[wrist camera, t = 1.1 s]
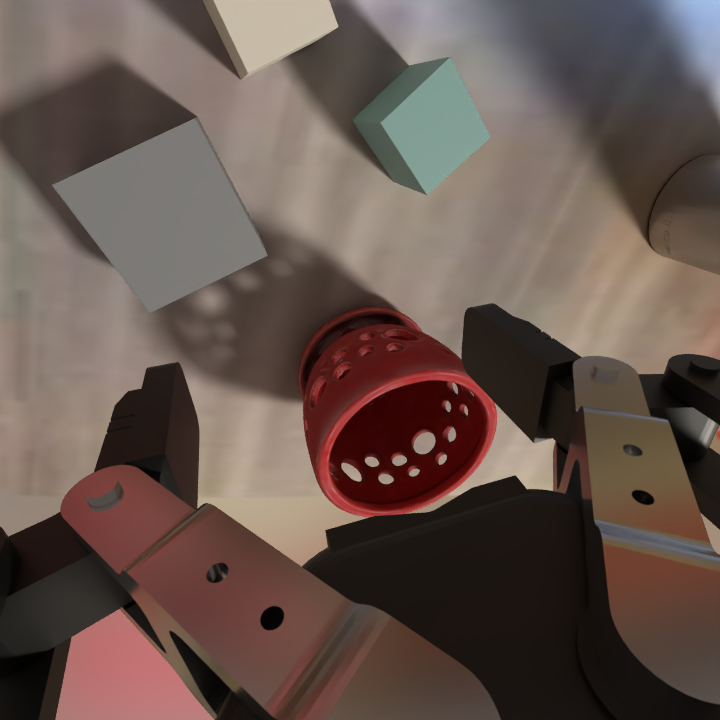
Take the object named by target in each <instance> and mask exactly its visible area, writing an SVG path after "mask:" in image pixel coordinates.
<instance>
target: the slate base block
mask: <svg viewBox="0 0 720 720" xmlns="http://www.w3.org/2000/svg"><path fill="white" fill-rule="evenodd" d="M52 186H53V187H54V189H55V190H56V191H57V193H58V194H59V195H60V197H61V198H62V199H63V200H64V202H65V203H66V204H67V206H68V207H69V208H70V210H71V211H72V212H73V214H74V215H75V216H76V217H77V219H78V220H79V221H80V223H81V224H82V225H83V227H84V228H85V229H86V231H87V232H88V233H89V234H90V236H91V237H92V238H93V240H94V241H95V242H96V244H97V245H98V246H99V248H100V249H101V250H102V252H103V253H104V254H105V255H106V257H107V258H108V259H109V261H110V262H111V263H112V265H113V266H114V267H115V269H116V270H117V271H118V272H119V274H120V275H121V276H122V278H123V279H124V280H125V282H126V283H127V284H128V286H129V287H130V288H131V289H132V291H133V292H134V293H135V295H136V296H137V297H138V299H139V300H140V301H141V303H142V304H143V305H144V306H145V308H146V309H147V310H148V312H149V313H151V312H153V311H155V310H157V309H159V308H161V307H163V306H165V305H168V304H170V303H172V302H174V301H176V300H178V299H180V298H182V297H184V296H186V295H188V294H190V293H192V292H194V291H196V290H198V289H200V288H202V287H204V286H207V285H209V284H211V283H213V282H215V281H217V280H219V279H221V278H223V277H225V276H227V275H229V274H231V273H233V272H235V271H237V270H239V269H241V268H243V267H245V266H248V265H250V264H252V263H254V262H256V261H258V260H260V259H262V258H264V257H266V256H268V255H267V252H266V250H265V247H264V244H263V242H262V239H261V237H260V235H259V233H258V231H257V229H256V227H255V225H254V223H253V221H252V219H251V218H250V216H249V214H248V212H247V210H246V208H245V206H244V204H243V202H242V200H241V199H240V197H239V195H238V193H237V191H236V189H235V187H234V185H233V183H232V181H231V180H230V178H229V176H228V174H227V172H226V170H225V168H224V166H223V164H222V162H221V161H220V159H219V157H218V155H217V153H216V151H215V149H214V147H213V145H212V143H211V142H210V140H209V138H208V136H207V134H206V132H205V130H204V128H203V126H202V124H201V123H200V121H199V119H198V117H196V118H194V119H191V120H189V121H187V122H185V123H183V124H181V125H179V126H176V127H174V128H172V129H170V130H168V131H166V132H164V133H162V134H159V135H157V136H155V137H153V138H151V139H149V140H147V141H144V142H142V143H140V144H138V145H136V146H134V147H132V148H129V149H127V150H125V151H123V152H121V153H119V154H117V155H114V156H112V157H110V158H108V159H106V160H104V161H102V162H100V163H97V164H95V165H93V166H91V167H89V168H87V169H85V170H82V171H80V172H78V173H76V174H74V175H72V176H70V177H68V178H66V179H64V180H62V181H59V182H57V183H55V184H53V185H52Z"/></svg>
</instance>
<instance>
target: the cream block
mask: <svg viewBox="0 0 720 720" xmlns="http://www.w3.org/2000/svg"><path fill="white" fill-rule="evenodd" d="M203 2H204V4H205V7H206V9H207V11H208V13H209V15H210V17H211V19H212V21H213V23H214V25H215V27H216V29H217V31H218V33H219V35H220V37H221V39H222V42H223V44H224V46H225V48H226V50H227V52H228V54H229V56H230V58H231V60H232V62H233V64H234V66H235V68H236V70H237V72H238V74H239V76H240V79H241V80H242V79H244V78H246V77H248V76H250V75H252V74H253V73H255V72H257V71H259V70H261V69H263V68H265V67H267V66H269V65H271V64H273V63H275V62H277V61H279V60H281V59H283V58H285V57H286V56H288V55H290V54H292V53H294V52H296V51H298V50H300V49H302V48H304V47H306V46H308V45H310V44H312V43H314V42H315V41H317V40H319V39H320V38H322V37H323V36H325V35H327V34H328V33H330V32H331V31H333V30H335V29H336V28H338V24H337V21H336V18H335V16H334V13H333V10H332V7H331V4H330V1H329V0H203Z"/></svg>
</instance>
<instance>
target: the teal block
mask: <svg viewBox="0 0 720 720" xmlns="http://www.w3.org/2000/svg"><path fill="white" fill-rule="evenodd" d="M352 122H353V123H354V125H355V126H356V128H357V129H358V131H359V132H360V134H361V135H362V137H363V138H364V140H365V141H366V142H367V144H368V145H369V147H370V148H371V150H372V151H373V153H374V154H375V156H376V157H377V159H378V160H379V162H380V163H381V164H382V166H383V167H384V169H385V170H386V172H387V173H388V175H389V176H390V178H391V179H392V181H393V182H395V183H398V184H400V185H403V186H405V187H408V188H411V189H413V190H416V191H418V192H421V193H423V194H426V195H428V194H429V193H430V192H431V191H432V190H433V189H434V188H435V187H436V186H438V185H439V184H440V183H441V182H442V181H443V180H444V179H445V178H446V177H447V176H449V175H450V174H451V173H452V172H453V171H454V170H455V169H456V168H457V167H459V166H460V165H461V164H462V163H463V162H464V161H465V160H466V159H467V158H468V157H470V156H471V155H472V154H473V153H474V152H475V151H476V150H477V149H478V148H480V147H481V146H482V145H483V144H484V143H485V142H486V141H487V140H488V139H490V138H491V137H490V134H489V132H488V130H487V128H486V126H485V124H484V122H483V120H482V118H481V116H480V114H479V112H478V110H477V108H476V106H475V104H474V102H473V100H472V98H471V96H470V94H469V92H468V90H467V88H466V86H465V84H464V82H463V80H462V78H461V76H460V74H459V72H458V70H457V68H456V66H455V64H454V62H453V60H452V58H451V57H447V58H442V59H437V60H433V61H428V62H424V63H419V64H414V65H410V66H408V67H407V68H406V69H405V70H404V71H403V72H402V73H401V74H400V75H399V76H398V77H397V78H396V79H394V80H393V81H392V82H391V83H390V84H389V85H388V86H387V87H386V88H385V89H384V90H383V91H382V92H381V93H380V94H379V95H378V96H377V97H376V98H375V99H374V100H372V101H371V102H370V103H369V104H368V105H367V106H366V107H365V108H364V109H363V110H362V111H361V112H360V113H359V114H358V115H357V116H356V117H355V118H354V119H353V120H352Z"/></svg>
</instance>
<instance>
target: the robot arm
mask: <svg viewBox="0 0 720 720" xmlns="http://www.w3.org/2000/svg"><path fill="white" fill-rule="evenodd" d="M649 240H650V243H651V245H652V248H653V249H654V250H655V251H656V252H657V253H658V254H660V255H661V256H664V257H667V258H670V259H673V260H676V261H679V262H682V263H685V264H688V265H691V266H694V267H697V268H700V269H703V270H706V271H709V272H712V273H715V274H718V275H720V155H716V154H708V155H704V156H701V157H698V158H696V159H694V160H692V161H690V162H689V163H687V164H686V165H685V166H683V167H682V168H681V169H679V170H678V172H677V173H676V174H675V175H674V176H673V177H672V178H671V179H670V180H669V181H668V183H667V184H666V185H665V187H664V188H663V190H662V191H661V193H660V195H659V197H658V198H657V200H656V203H655V205H654V208H653V210H652V213H651V217H650V221H649ZM462 363H463V366H464V369H465V371H466V373H467V374H468V375H469V376H470V377H471V379H472V380H473V381H474V382H475V383H476V384H477V385H478V386H479V387H480V388H481V389H482V390H483V391H484V392H485V393H486V394H487V395H488V396H489V397H490V398H491V399H492V400H493V401H494V402H495V403H496V404H497V405H498V406H499V407H500V409H501V410H502V411H503V412H504V413H505V414H506V415H507V416H508V417H509V418H510V419H511V420H512V421H513V422H514V423H515V424H516V425H517V426H518V427H519V428H520V429H521V430H522V431H523V432H524V433H525V434H526V435H527V436H528V437H529V438H530V440H531V441H532V442H533V443H536V442H540V441H544V440H547V439H551V438H553V439H554V440H555V446H554V450H553V491H549V490H540V489H526V488H525V486H524V485H523V484H522V483H521V482H520V480H519V479H518V478H517V477H516V476H512V477H508V478H505V479H501V480H498V481H494V482H491V483H487V484H484V485H480V486H477V487H473V488H471V489H469V490H468V491H466V492H464V493H463V494H461V495H459V496H458V497H456V498H454V499H453V500H451V501H449V502H448V503H446V504H444V505H442V506H441V507H439V508H438V509H436V510H434V511H431V512H426V513H411V514H396V515H380V516H373V517H370V518H366V519H363V520H360V521H356V522H353V523H349V524H346V525H342V526H339V527H335V528H332V529H328V530H326V537H327V544H328V548H326V549H324V550H323V551H321V552H319V553H318V554H317V555H315V556H314V557H313V558H311V559H310V560H309V561H307V563H305V564H304V565H303V566H302V567H301V566H300V565H298V564H297V563H295V562H294V561H292V560H291V559H290V558H288V557H287V556H285V555H284V554H282V553H281V552H280V551H278V550H277V549H275V548H274V547H273V546H271V545H270V544H268V543H267V542H265V541H264V540H262V539H261V538H260V537H258V536H256V535H255V534H254V533H253V532H251V531H250V530H248V529H247V528H245V527H244V526H242V525H241V524H240V523H238V522H237V521H235V520H234V519H233V518H231V517H230V516H228V515H227V514H225V513H224V512H223V511H221V510H220V509H218V508H217V507H215V506H214V505H211V504H208V503H205V504H203V505H202V506H200V507H199V508H198V509H197V500H198V467H199V424H198V419H197V414H196V411H195V408H194V404H193V401H192V398H191V395H190V392H189V389H188V386H187V383H186V379H185V376H184V373H183V370H182V367H181V365H180V364H179V362H176V363H170V364H165V365H160V366H154V367H149V368H147V369H146V373H145V377H144V381H143V385H142V389H137V390H132V391H128V392H127V393H126V394H125V395H124V396H123V397H122V398H121V400H120V401H119V402H118V403H117V404H116V405H115V407H114V410H113V414H112V417H111V422H110V423H109V426H108V429H107V434H106V436H105V439H104V442H103V445H102V448H101V452H100V455H99V458H98V461H97V464H96V467H95V471H94V473H92V474H90V475H88V476H86V477H85V478H83V479H82V480H80V481H79V482H78V483H77V484H76V485H74V486H73V487H72V488H71V489H70V490H69V492H68V493H67V494H66V495H65V497H64V499H63V501H62V504H61V512H59V513H57V514H56V515H54V516H52V517H50V518H48V519H46V520H44V521H42V522H40V523H37V524H35V525H33V526H31V527H28V528H26V529H24V530H22V531H20V532H18V533H15V534H13V535H11V536H9V537H8V535H7V534H6V533H5V531H4V530H3V529H2V528H1V527H0V720H55V718H56V713H57V708H58V703H59V698H60V693H61V688H62V683H63V678H64V672H65V667H66V662H67V657H68V652H69V647H70V642H71V637H72V636H74V635H76V634H77V633H79V632H80V631H82V630H84V629H85V628H87V627H89V626H91V625H92V624H94V623H96V622H98V621H99V620H101V619H103V618H104V617H106V616H108V615H110V614H111V613H113V612H115V611H116V610H118V609H120V610H121V611H122V612H123V614H124V615H125V616H126V617H127V618H128V619H129V620H130V621H131V622H132V623H133V625H134V626H135V627H136V628H137V629H138V630H139V631H140V632H141V633H142V634H143V636H144V637H146V639H147V640H148V641H149V642H150V643H151V644H152V645H153V647H154V648H155V649H156V650H157V651H158V652H159V653H160V654H161V655H162V656H163V657H164V659H166V661H167V662H168V663H169V664H170V665H171V666H172V668H173V669H174V670H175V671H176V673H177V674H178V675H179V677H180V678H181V679H182V681H183V682H184V683H185V685H186V686H187V688H188V689H189V690H190V692H191V693H192V694H193V695H194V697H195V698H196V699H197V700H198V701H199V703H200V704H201V705H202V706H203V707H204V708H205V710H206V711H207V712H208V713H209V714H210V715H211V716H212V717H213V718H214V719H215V720H720V555H719V554H717V553H716V552H715V551H714V549H713V547H712V545H711V543H710V540H709V537H708V534H707V531H706V528H705V525H704V522H703V519H702V516H701V514H700V513H702V514H703V515H704V516H705V517H706V518H707V519H708V520H710V521H711V522H712V523H713V524H714V525H715V526H716V527H717V528H719V529H720V455H719V454H718V453H716V452H715V451H714V450H712V449H711V448H710V447H709V446H710V444H711V442H712V440H713V438H714V436H715V434H716V432H717V430H718V427H719V425H720V360H718V359H714V358H711V357H707V356H702V355H695V354H681V355H676V356H673V357H671V358H670V359H669V361H668V364H667V366H666V369H665V372H664V374H638V373H637V372H636V370H635V369H634V368H632V367H631V366H630V365H628V364H626V363H624V362H622V361H619V360H616V359H613V358H609V357H603V356H587V357H580V356H579V355H578V354H576V353H575V352H573V351H572V350H570V349H569V348H567V347H566V346H564V345H563V344H561V343H560V342H558V341H557V340H555V339H554V338H553V339H551V336H549V335H548V334H546V333H545V332H541V330H540V329H539V328H537V327H536V326H534V325H533V324H531V323H530V322H528V321H525V320H522V319H519V318H516V317H514V316H512V315H510V314H509V313H507V312H506V311H504V310H503V309H502V308H500V307H499V306H497V305H496V304H493V303H492V304H486V305H481V306H475V307H470V308H468V309H467V310H466V312H465V315H464V327H463V341H462Z"/></svg>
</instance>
